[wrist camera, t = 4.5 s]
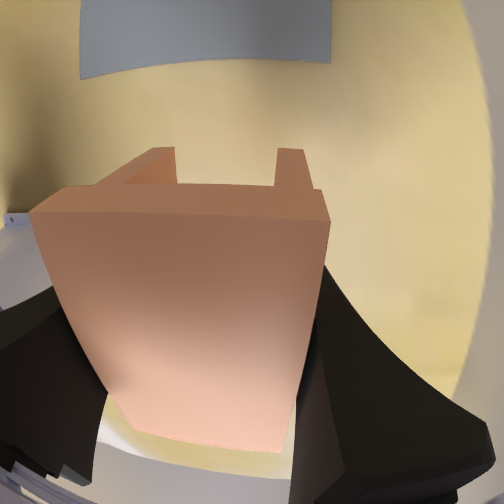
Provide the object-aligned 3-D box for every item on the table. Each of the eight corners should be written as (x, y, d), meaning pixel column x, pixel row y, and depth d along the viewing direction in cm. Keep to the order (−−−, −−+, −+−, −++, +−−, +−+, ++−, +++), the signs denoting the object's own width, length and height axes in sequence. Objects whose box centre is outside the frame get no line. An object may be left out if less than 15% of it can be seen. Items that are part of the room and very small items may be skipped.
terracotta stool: (176, 315, 14) (133, 429, 8) (151, 136, 9) (27, 212, 4) (286, 325, 13) (280, 452, 8) (303, 137, 9) (330, 222, 4)
